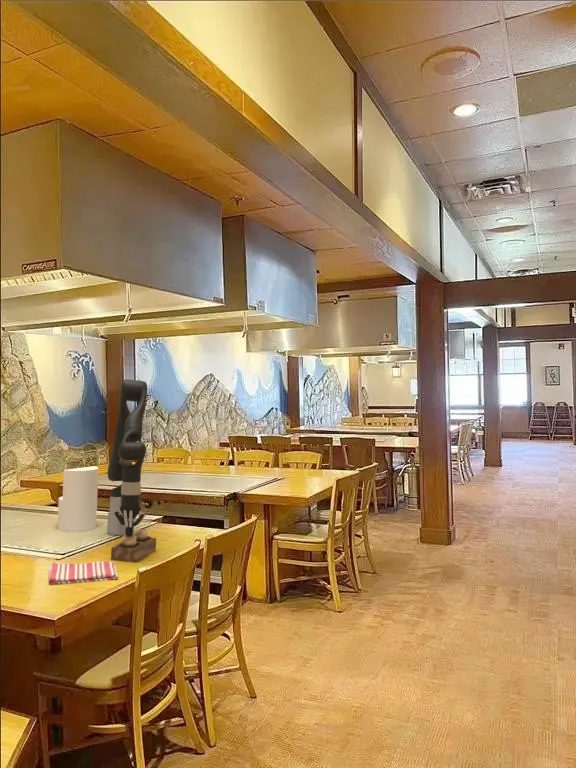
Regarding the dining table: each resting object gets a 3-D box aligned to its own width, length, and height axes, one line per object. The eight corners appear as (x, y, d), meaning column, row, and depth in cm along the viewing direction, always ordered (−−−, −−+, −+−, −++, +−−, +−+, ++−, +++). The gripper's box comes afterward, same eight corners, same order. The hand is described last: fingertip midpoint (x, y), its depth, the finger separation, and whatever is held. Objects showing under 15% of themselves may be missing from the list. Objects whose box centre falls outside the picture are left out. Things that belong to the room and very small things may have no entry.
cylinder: (104, 526, 287) (106, 468, 286) (73, 533, 272) (75, 472, 272) (80, 521, 296) (82, 464, 296) (49, 527, 281) (51, 467, 281)
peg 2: (130, 552, 246) (130, 531, 246) (136, 548, 252) (136, 528, 252) (142, 553, 245) (143, 532, 245) (148, 550, 251) (149, 529, 251)
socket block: (110, 559, 236) (111, 545, 236) (131, 547, 253) (131, 534, 253) (137, 562, 234) (137, 548, 234) (155, 549, 251) (156, 536, 251)
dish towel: (49, 571, 221) (49, 562, 221) (114, 566, 229) (115, 557, 229) (48, 586, 205) (48, 576, 205) (118, 581, 213) (119, 571, 213)
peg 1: (118, 559, 236) (119, 537, 236) (125, 555, 242) (126, 534, 242) (131, 560, 235) (132, 538, 235) (138, 556, 241) (138, 535, 241)
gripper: (111, 493, 236) (109, 537, 236) (142, 495, 234) (140, 539, 234) (119, 489, 243) (118, 532, 244) (150, 492, 241) (148, 535, 241)
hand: (129, 536), depth 239 cm, fingers closed
